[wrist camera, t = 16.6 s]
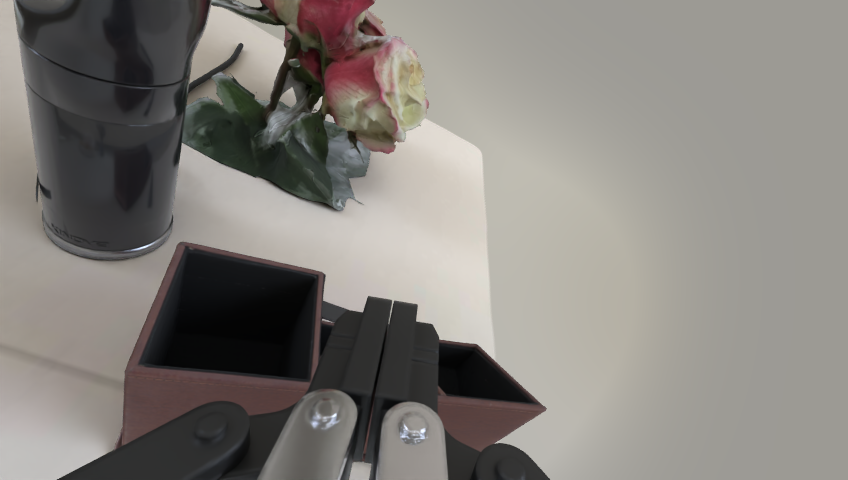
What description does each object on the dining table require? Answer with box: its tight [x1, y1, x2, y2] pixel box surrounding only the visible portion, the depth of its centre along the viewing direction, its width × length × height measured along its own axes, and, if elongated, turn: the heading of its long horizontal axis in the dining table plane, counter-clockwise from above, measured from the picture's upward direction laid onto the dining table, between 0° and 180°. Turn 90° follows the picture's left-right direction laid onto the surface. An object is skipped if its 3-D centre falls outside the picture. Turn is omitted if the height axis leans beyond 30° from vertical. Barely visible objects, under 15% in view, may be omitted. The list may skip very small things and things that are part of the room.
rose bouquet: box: [182, 0, 429, 211], centre depth 52 cm, size 26×29×30 cm
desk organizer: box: [114, 242, 546, 461], centre depth 32 cm, size 10×29×11 cm, turn 98°
